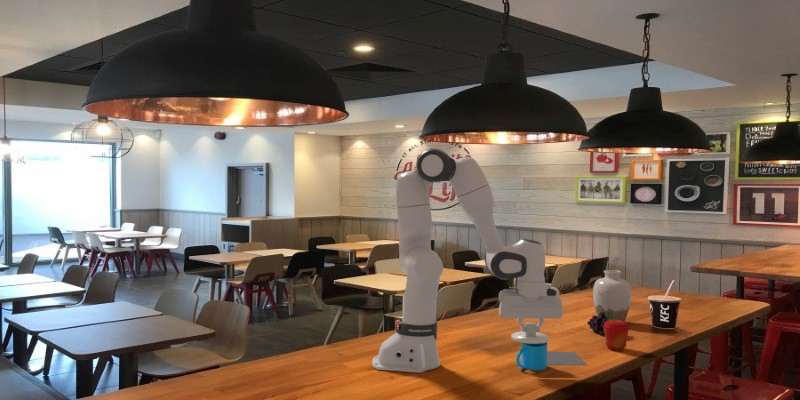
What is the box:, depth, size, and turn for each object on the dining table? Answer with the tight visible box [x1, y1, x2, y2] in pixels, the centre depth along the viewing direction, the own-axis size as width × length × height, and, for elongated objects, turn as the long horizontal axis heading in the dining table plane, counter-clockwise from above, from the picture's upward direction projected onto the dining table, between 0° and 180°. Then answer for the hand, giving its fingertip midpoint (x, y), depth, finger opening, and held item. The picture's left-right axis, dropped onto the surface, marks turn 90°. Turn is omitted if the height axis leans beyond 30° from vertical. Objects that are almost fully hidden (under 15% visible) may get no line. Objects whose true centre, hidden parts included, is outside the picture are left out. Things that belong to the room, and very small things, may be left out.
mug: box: [515, 342, 548, 371], centre depth 199 cm, size 12×8×8 cm
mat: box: [547, 351, 588, 366], centre depth 211 cm, size 16×16×1 cm
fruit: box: [587, 310, 617, 336], centre depth 248 cm, size 10×11×15 cm
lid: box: [510, 322, 550, 344], centre depth 199 cm, size 12×12×5 cm
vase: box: [592, 269, 632, 322], centre depth 268 cm, size 16×16×23 cm
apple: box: [604, 320, 630, 352], centre depth 225 cm, size 9×8×12 cm
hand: (530, 331), depth 199 cm, fingers closed on lid, 3 cm apart
